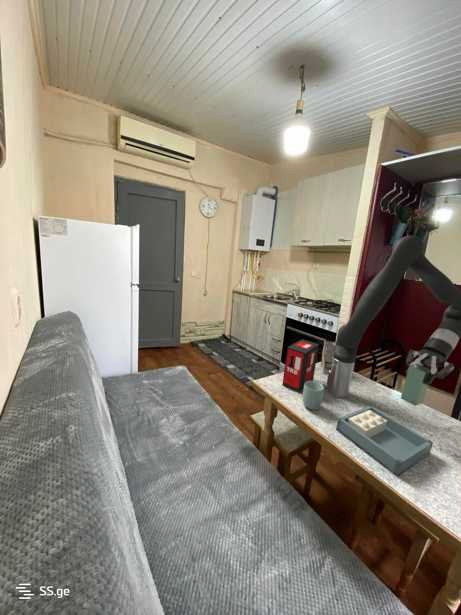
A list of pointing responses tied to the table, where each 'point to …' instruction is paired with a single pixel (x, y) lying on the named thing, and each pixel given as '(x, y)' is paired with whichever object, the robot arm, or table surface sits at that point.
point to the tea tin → (415, 384)
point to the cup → (312, 394)
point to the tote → (388, 442)
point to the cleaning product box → (300, 364)
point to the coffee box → (327, 356)
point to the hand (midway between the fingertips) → (416, 379)
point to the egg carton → (368, 423)
